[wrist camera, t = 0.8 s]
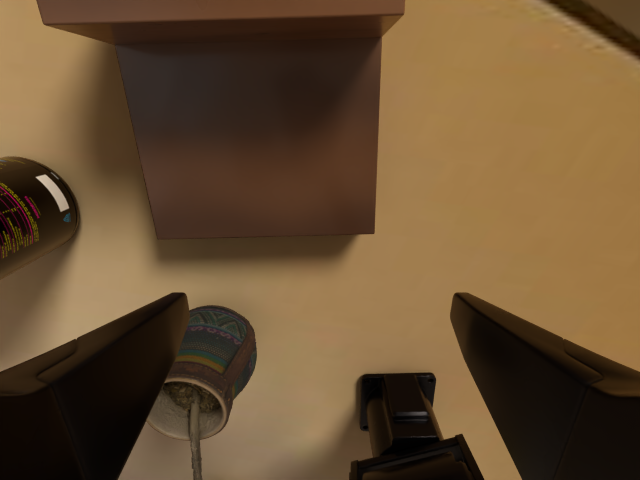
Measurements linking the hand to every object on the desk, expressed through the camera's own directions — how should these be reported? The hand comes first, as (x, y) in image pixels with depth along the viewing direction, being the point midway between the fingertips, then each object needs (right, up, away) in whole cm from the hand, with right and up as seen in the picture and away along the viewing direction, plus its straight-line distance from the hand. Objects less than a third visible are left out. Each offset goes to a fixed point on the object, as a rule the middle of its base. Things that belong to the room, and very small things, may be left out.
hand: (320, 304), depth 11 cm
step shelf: (-4, +11, +10) cm, 15 cm away
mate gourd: (-8, -5, +17) cm, 20 cm away
